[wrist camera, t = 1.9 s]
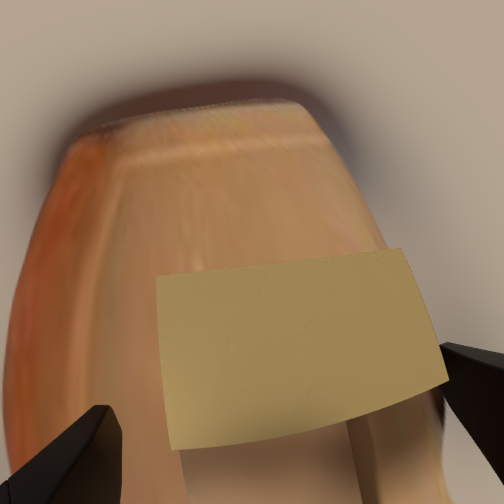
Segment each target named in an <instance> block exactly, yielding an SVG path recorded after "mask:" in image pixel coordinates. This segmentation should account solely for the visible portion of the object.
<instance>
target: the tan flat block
mask: <svg viewBox="0 0 504 504" xmlns="http://www.w3.org/2000/svg"><path fill="white" fill-rule="evenodd" d="M180 456H181V462H182V467H183V473H184V478H185V483H186V488H187V493H188V498H189V503H190V504H362V499H361V493H360V488H359V482H358V477H357V472H356V467H355V462H354V457H353V452H352V447H351V442H350V438H349V433H348V428H347V424H346V421H342V422H339V423H336V424H332V425H328V426H325V427H321V428H317V429H313V430H309V431H305V432H301V433H296V434H292V435H287V436H282V437H277V438H272V439H266V440H261V441H255V442H248V443H242V444H235V445H227V446H218V447H209V448H197V449H183V450H180Z"/></svg>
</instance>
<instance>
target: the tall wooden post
mask: <svg viewBox="0 0 504 504" xmlns="http://www.w3.org/2000/svg"><path fill="white" fill-rule="evenodd" d="M156 293H157V318H158V336H159V351H160V363H161V374H162V385H163V394H164V403H165V411H166V419H167V426H168V433H169V440H170V446H171V450H183V449H197V448H209V447H218V446H227V445H235V444H242V443H248V442H255V441H261V440H266V439H272V438H277V437H282V436H287V435H292V434H296V433H301V432H305V431H309V430H313V429H317V428H321V427H325V426H328V425H332V424H336V423H339V422H342V421H346V420H349V419H352V418H356V417H359V416H362V415H365V414H368V413H371V412H374V411H377V410H379V409H382V408H385V407H388V406H390V405H393V404H396V403H398V402H401V401H403V400H406V399H408V398H411V397H413V396H416V395H418V394H420V393H423V392H425V391H427V390H429V389H432V388H434V387H436V386H438V385H440V384H442V383H445V382H447V381H449V378H448V374H447V370H446V367H445V363H444V360H443V357H442V353H441V350H440V347H439V344H438V341H437V338H436V335H435V332H434V329H433V326H432V323H431V320H430V317H429V315H428V312H427V309H426V306H425V304H424V301H423V298H422V296H421V293H420V291H419V288H418V286H417V283H416V281H415V278H414V276H413V274H412V271H411V269H410V266H409V264H408V262H407V260H406V257H405V255H404V253H403V250H402V248H397V249H389V250H381V251H373V252H365V253H357V254H349V255H341V256H333V257H324V258H316V259H308V260H299V261H290V262H282V263H273V264H264V265H255V266H246V267H237V268H228V269H219V270H210V271H200V272H191V273H181V274H172V275H162V276H156Z"/></svg>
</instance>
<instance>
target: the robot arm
mask: <svg viewBox="0 0 504 504" xmlns="http://www.w3.org/2000/svg"><path fill="white" fill-rule="evenodd" d="M439 347H440V350H441V353H442V357H443V360H444V363H445V367H446V370H447V374H448V378H449V381H447V382H445V383H442V384H440V385H438V387H439V389H440V391H441V392H442V394H443V396H444V397H445V399H446V401H447V402H448V404H449V406H450V408H451V409H452V411H453V412H454V414H455V415H456V416H457V418H458V419H459V421H460V422H461V423H462V425H463V426H464V428H465V429H466V430H467V431H468V433H469V434H470V436H471V437H472V439H473V440H474V442H475V443H476V445H477V446H478V447H479V449H480V450H481V452H482V453H483V455H484V456H485V458H486V459H487V461H488V462H489V464H490V465H491V467H492V468H493V470H494V471H495V473H496V474H497V476H498V477H499V479H500V480H501V482H502V483H503V485H504V354H502V353H497V352H492V351H487V350H482V349H477V348H473V347H468V346H463V345H459V344H454V343H450V342H446V343H443V344H441V345H439ZM121 487H122V430H121V427H120V425H119V423H118V420H117V418H116V416H115V413H114V411H113V409H112V407H111V406H109V405H94V406H93V407H92V408H91V409H89V410H88V411H87V412H86V413H85V414H84V415H82V416H81V417H80V418H79V419H78V420H77V421H75V422H74V423H73V424H72V425H71V426H70V427H68V428H67V429H66V430H65V431H64V432H63V433H61V434H60V435H59V436H58V437H57V438H56V439H54V440H53V441H52V442H51V443H50V444H49V445H47V446H46V447H45V448H44V449H43V450H41V451H40V452H39V453H38V454H37V455H36V456H34V457H33V458H32V459H31V460H30V461H28V462H27V463H26V464H25V465H24V466H22V467H21V468H20V469H19V470H18V471H17V472H15V473H14V474H13V475H12V476H11V477H10V478H8V480H6V481H4V482H3V483H2V484H1V485H0V504H120V498H121Z"/></svg>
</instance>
